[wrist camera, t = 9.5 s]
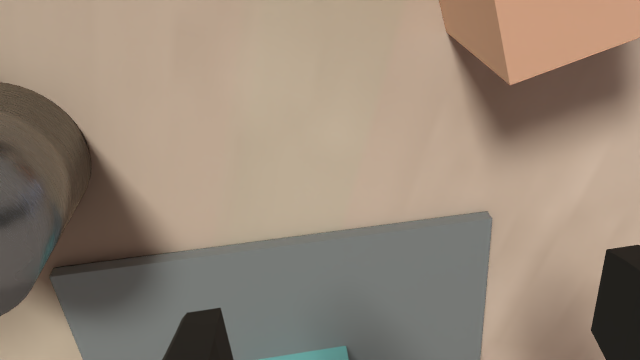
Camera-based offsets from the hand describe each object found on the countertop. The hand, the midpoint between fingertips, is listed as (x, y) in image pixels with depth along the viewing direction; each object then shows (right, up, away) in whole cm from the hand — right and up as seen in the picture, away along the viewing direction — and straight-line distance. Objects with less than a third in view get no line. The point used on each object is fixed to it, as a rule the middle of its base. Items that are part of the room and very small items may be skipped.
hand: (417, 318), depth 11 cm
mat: (-3, -6, +14) cm, 16 cm away
